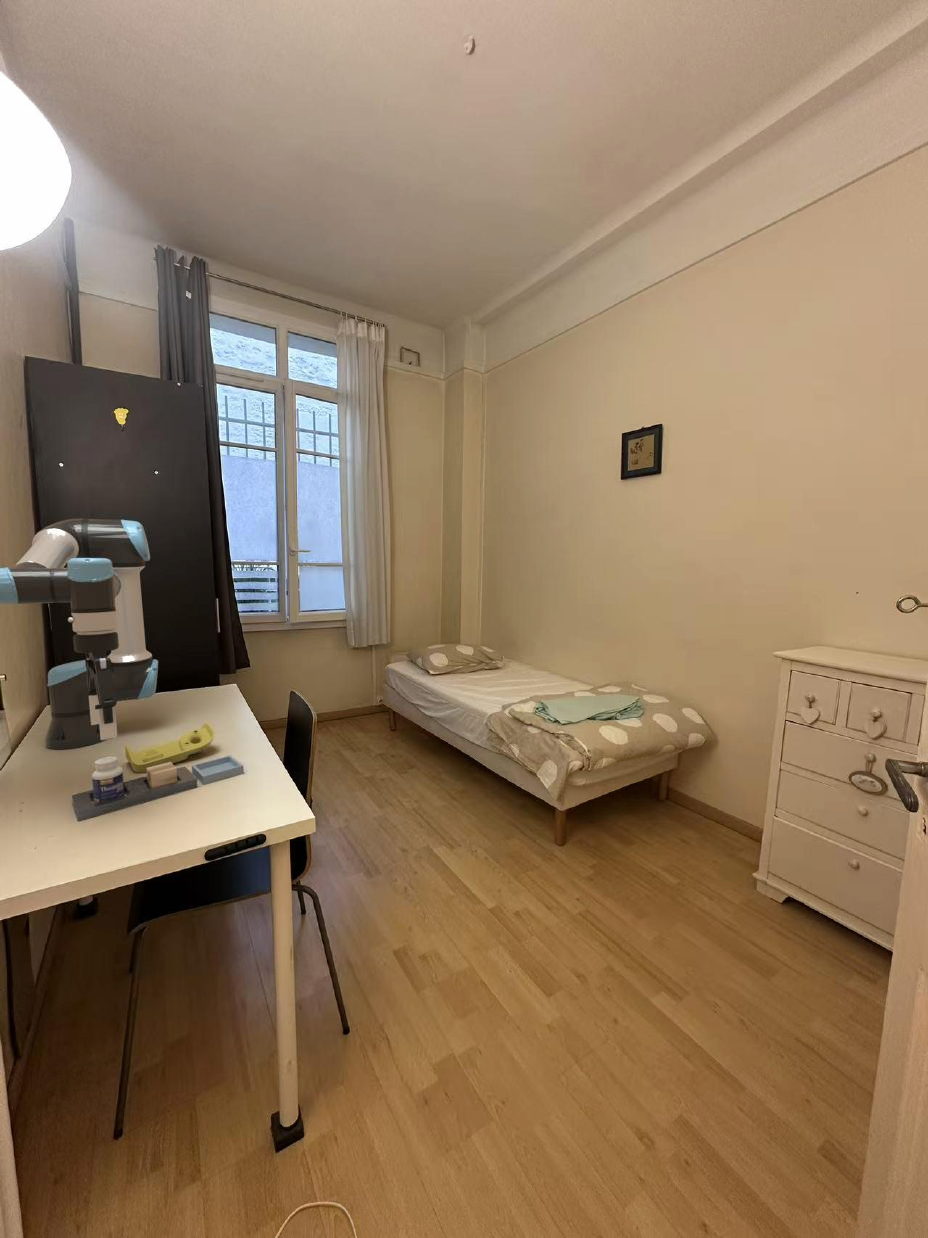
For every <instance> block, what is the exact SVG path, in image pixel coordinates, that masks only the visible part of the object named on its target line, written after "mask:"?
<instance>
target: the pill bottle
mask: <svg viewBox="0 0 928 1238" xmlns="http://www.w3.org/2000/svg"><path fill="white" fill-rule="evenodd" d="M94 768H95V771H93V772H92V775H91V780H92V790H93V794H94V801H93V804H96V803H100V802H103V801H107V800H111V799H114V798H118V797H122V796H125V793H124V782H125V781H124V771H123V770H124V769H123V767H122V766H119V758H118V756H106V757H102V758H98V759H97V760H95V761H94Z"/></svg>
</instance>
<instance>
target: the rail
mask: <svg viewBox="0 0 928 1238" xmlns="http://www.w3.org/2000/svg"><path fill="white" fill-rule="evenodd" d="M176 770H177V782H173V783H169V784H166V785H162V786H158V787H155V788H151V789H148V786H147V775H144V776H142V777H138V778H133V779H131V780H130V779H129V780H125V781H123V782H124V796H122V797H118V798H114V799H111V800H107V801H103V802H100V803H96V804H94V794H93V789H90V790H86V791H83V792H79V793H75V794H71V805H72V808H73V810H74V813H75V817H76V820H77V822H81V821H83V820H87V819H91V818H95V817H98V816H101V815H105V814H109V813H112V812H116V811H118V810H119V811H120V810H123V809H125V808H130V807H133V806H137V805H140V804H144V803H146V802H150V801H151V802H152V801H154V800H157V799H161V798H165V797H169V796H172V795H176V794H179V793H183V792H185V791H189V790H192V789H196V788H198V778H197V777H196V776H195V775H194V774H193V773H192V771H190V770H189V769H188V768H187V767H186V766H181V767H176Z"/></svg>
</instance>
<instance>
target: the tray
mask: <svg viewBox="0 0 928 1238" xmlns="http://www.w3.org/2000/svg"><path fill="white" fill-rule="evenodd" d="M244 771H245V769H244V765H243V764H242V763H241V762H239V760H237V759H236V758H235V757H234V756H232V755H230V754H229V755H226V756H221V757H219V758H214V759H210V760H207V761H202V762H200V763H195V764H191V773H192V774H193V775H194V776H195V777H196V778H197V781H199V782H200V783H201V784H202V785H203V786H204V785H207V784H208V785H209V784H211V783H214V782H218V781H222V780H224V779H229V778H232V777H235V776H239V775H243V774H245V773H244Z"/></svg>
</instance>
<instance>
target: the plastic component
mask: <svg viewBox="0 0 928 1238" xmlns="http://www.w3.org/2000/svg"><path fill="white" fill-rule="evenodd" d="M214 738H215V731H214V728H213V727H212V726H211V724H210V723H209V722H207V723H204V724H203V725H202V726H201V727H200V728H199V729H194V730H192V731H189V732H185V734H182V736H181V737H180V738H178V739H176V740H171V741H168V742H165V743H161V744H158V745H155V746H151V747H147V748H143V749H140V750H138V751H134V752H132V750H131V748H130V746H129V744H127V745H125V758H126V761H127V760H128V761H129V763H130V765H131V768H132V770H133V771H134V772H136V773H139V774H140V773H147V772H146V768H148V767H152V766H156V765H161V764H165V763H169V762H171V763H172V764H173V765H174V764H176V763H180V762H181V761H182V762H183V761H184V760H185V761H186V760H187V759H188V756H190V755H192V754H193V755H196V754H201V752H202V751H203V750H204V749H206V748H207V747H209V745H210V744H211V743H212V742H213V740H214Z"/></svg>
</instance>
